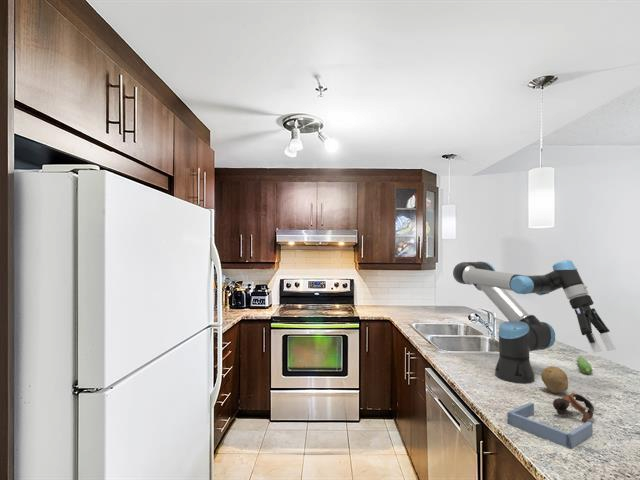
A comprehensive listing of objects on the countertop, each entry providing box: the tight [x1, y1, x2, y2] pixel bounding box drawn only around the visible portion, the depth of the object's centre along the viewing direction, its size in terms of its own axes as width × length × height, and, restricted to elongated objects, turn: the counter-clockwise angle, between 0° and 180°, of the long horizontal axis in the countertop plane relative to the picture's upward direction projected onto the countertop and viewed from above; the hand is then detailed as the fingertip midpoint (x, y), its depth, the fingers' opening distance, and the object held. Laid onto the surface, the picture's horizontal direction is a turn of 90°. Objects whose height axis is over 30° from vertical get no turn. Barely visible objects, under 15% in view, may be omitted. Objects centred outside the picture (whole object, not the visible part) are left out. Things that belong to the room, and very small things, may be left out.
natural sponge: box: [540, 365, 569, 394], centre depth 142 cm, size 9×9×10 cm
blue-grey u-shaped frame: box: [506, 402, 594, 450], centre depth 113 cm, size 18×14×4 cm
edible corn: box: [576, 356, 593, 375], centre depth 170 cm, size 5×20×5 cm
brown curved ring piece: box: [552, 392, 595, 423], centre depth 121 cm, size 12×10×8 cm
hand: (605, 351), depth 138 cm, fingers open, 13 cm apart
